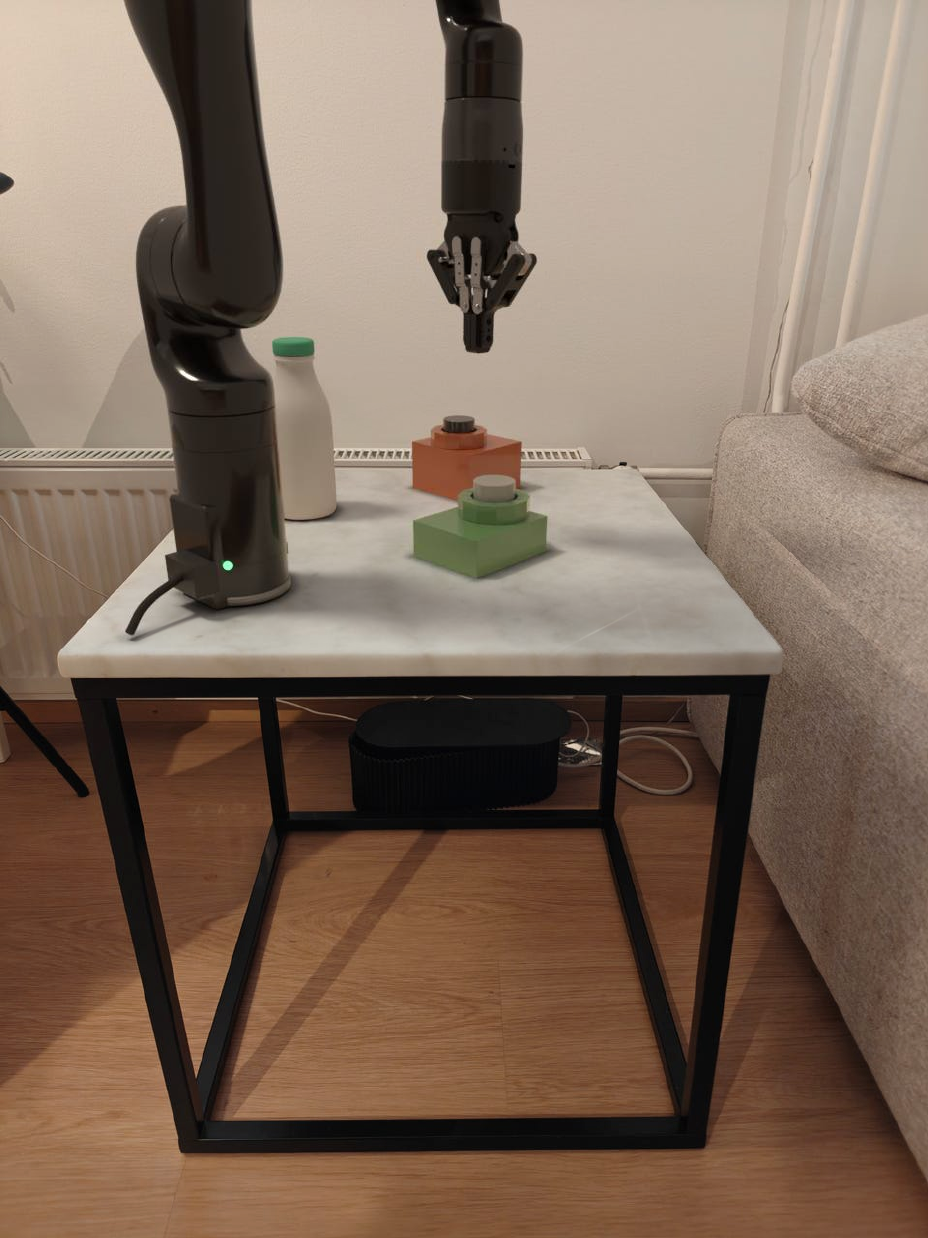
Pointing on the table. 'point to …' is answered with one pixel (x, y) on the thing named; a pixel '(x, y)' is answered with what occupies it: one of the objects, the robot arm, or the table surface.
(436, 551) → the green push button housing
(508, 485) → the light grey push button
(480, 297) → the robot arm
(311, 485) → the milk bottle
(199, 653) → the table surface
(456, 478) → the terracotta push button housing
